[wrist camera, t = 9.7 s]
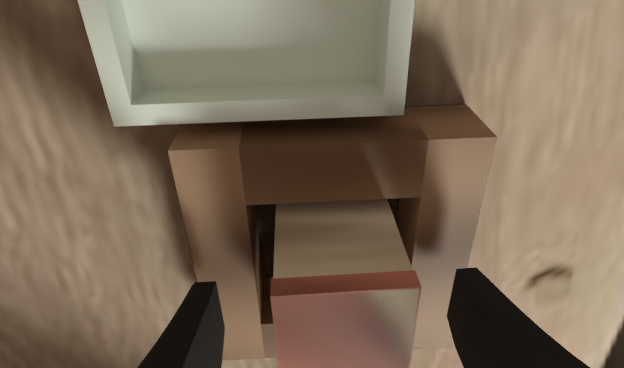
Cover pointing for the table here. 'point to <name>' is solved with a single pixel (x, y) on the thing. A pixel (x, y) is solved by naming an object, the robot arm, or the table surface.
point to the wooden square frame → (330, 187)
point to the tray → (249, 58)
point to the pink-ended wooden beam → (342, 287)
